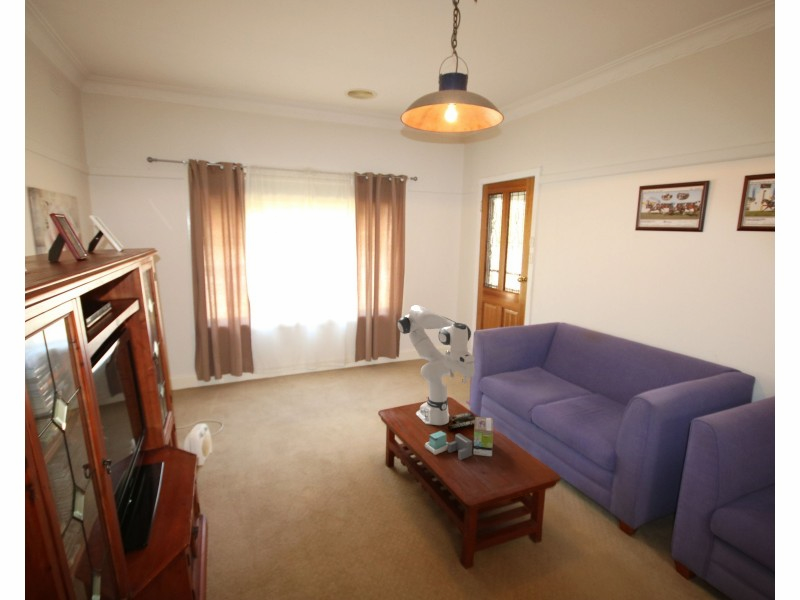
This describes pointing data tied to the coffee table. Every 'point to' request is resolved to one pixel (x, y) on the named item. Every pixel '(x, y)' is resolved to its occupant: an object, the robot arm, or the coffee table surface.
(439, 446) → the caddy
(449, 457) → the coffee table surface
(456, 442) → the block
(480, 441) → the tea box
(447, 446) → the tray
